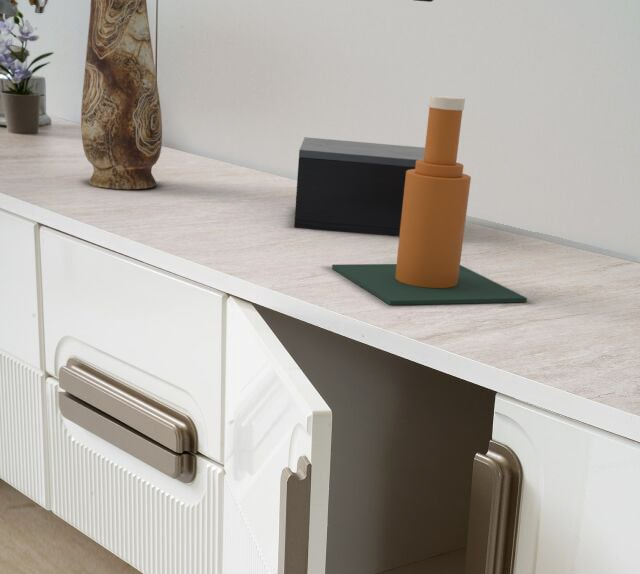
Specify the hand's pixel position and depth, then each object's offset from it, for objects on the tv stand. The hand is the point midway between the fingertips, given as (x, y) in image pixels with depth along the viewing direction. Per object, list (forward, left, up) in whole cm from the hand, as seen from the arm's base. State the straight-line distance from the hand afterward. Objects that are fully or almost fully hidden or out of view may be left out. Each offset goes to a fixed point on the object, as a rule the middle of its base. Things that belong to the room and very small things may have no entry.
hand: (419, 0), depth 126 cm
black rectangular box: (+4, -2, -25) cm, 25 cm away
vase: (+28, -27, -25) cm, 46 cm away
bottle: (+10, +28, -25) cm, 39 cm away
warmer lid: (+3, -2, -17) cm, 18 cm away
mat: (+10, +28, -25) cm, 39 cm away
